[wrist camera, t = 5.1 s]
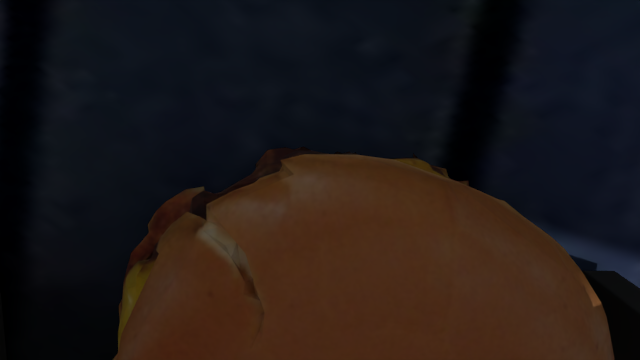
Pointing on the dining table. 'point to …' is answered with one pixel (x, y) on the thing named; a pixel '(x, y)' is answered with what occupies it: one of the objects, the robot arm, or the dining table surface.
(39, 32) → the dining table surface
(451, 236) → the burger
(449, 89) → the dining table surface
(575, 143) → the dining table surface
